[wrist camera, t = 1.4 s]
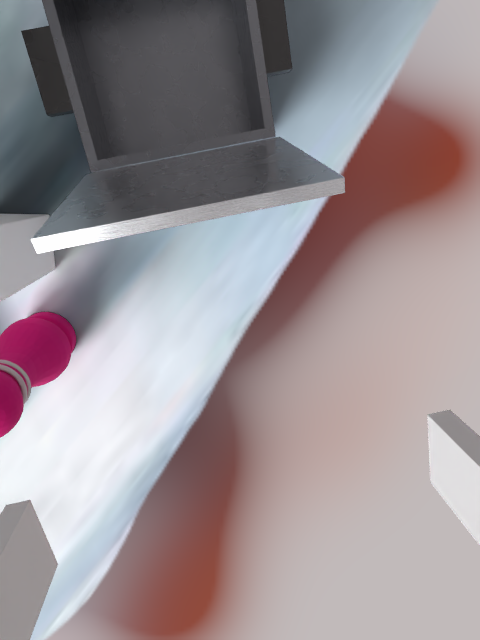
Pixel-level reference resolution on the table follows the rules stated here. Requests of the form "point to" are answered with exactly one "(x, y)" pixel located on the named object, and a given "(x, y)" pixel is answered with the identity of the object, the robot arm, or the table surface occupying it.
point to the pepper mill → (31, 360)
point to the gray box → (160, 74)
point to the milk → (21, 253)
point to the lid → (186, 192)
